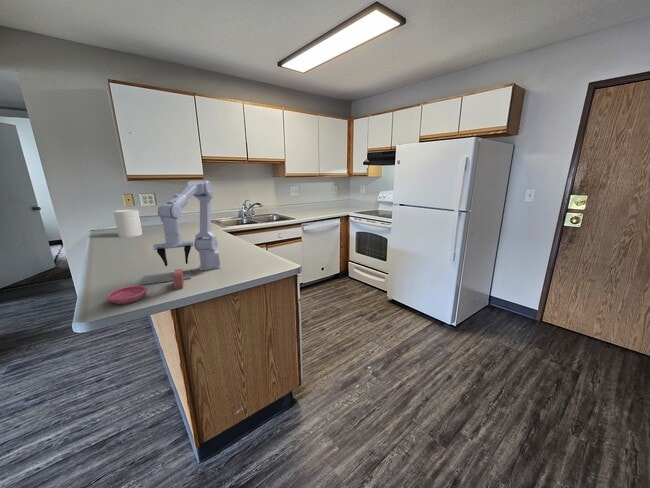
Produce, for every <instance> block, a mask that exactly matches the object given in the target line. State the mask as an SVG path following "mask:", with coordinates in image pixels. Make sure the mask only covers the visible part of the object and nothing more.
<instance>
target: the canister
mask: <svg viewBox="0 0 650 488" xmlns="http://www.w3.org/2000/svg"><path fill="white" fill-rule="evenodd" d="M113 216H114V220H115V225H116V230H117V235H118V237H119V238H130V237H131V238H132V237H137V236H139V237H140V236H142V235H143V229H142V225H141V219H140V211H139V209H118V210H114V211H113Z"/></svg>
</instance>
